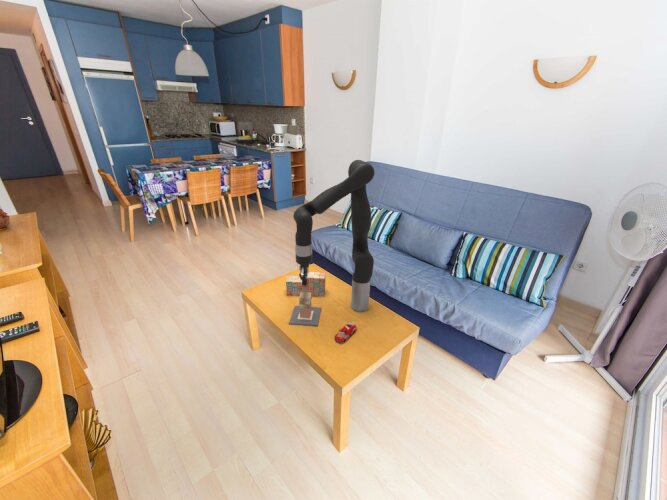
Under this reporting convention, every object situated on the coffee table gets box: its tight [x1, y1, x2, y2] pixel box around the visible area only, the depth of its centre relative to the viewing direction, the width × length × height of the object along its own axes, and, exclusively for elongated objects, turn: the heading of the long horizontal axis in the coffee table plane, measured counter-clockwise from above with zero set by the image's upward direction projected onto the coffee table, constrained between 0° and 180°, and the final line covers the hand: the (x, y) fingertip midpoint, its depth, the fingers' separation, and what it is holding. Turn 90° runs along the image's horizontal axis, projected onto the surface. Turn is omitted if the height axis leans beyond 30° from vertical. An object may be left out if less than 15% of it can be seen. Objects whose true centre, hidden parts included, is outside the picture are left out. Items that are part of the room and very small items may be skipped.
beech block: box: [298, 292, 312, 309], centre depth 146 cm, size 5×5×6 cm
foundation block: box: [300, 304, 312, 318], centre depth 149 cm, size 5×5×6 cm
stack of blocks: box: [285, 271, 326, 298], centre depth 167 cm, size 21×6×12 cm, turn 88°
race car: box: [334, 322, 357, 344], centre depth 139 cm, size 13×5×4 cm, turn 141°
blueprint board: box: [288, 305, 322, 327], centre depth 151 cm, size 14×14×1 cm
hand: (304, 284), depth 143 cm, fingers closed
